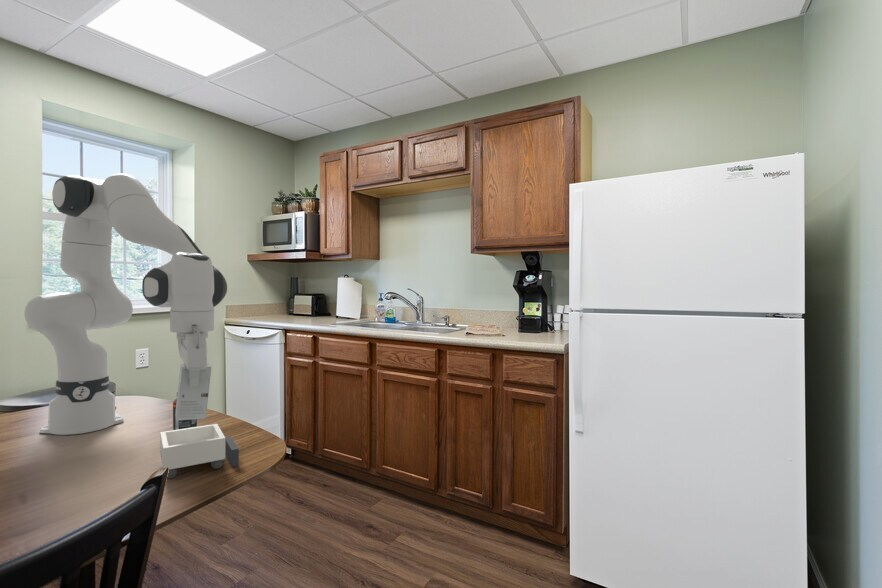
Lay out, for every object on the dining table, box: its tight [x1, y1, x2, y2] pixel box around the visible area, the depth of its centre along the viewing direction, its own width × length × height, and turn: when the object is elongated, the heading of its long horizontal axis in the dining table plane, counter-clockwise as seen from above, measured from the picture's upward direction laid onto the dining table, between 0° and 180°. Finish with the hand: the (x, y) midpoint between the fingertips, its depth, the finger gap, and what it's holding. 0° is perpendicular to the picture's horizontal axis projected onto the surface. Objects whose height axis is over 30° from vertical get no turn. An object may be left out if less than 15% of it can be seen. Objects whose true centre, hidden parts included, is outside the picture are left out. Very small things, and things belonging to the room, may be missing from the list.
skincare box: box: [175, 363, 212, 420], centre depth 103 cm, size 6×4×12 cm
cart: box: [159, 423, 226, 479], centre depth 103 cm, size 12×12×7 cm
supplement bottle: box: [172, 391, 198, 430], centre depth 128 cm, size 6×6×11 cm
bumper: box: [225, 436, 240, 468], centre depth 108 cm, size 10×2×4 cm, turn 35°
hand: (192, 383), depth 103 cm, fingers closed on skincare box, 4 cm apart
